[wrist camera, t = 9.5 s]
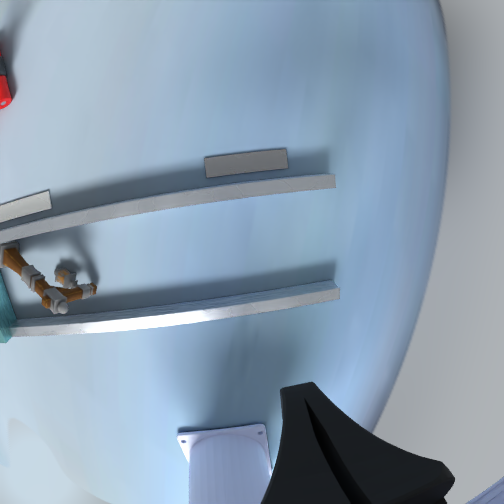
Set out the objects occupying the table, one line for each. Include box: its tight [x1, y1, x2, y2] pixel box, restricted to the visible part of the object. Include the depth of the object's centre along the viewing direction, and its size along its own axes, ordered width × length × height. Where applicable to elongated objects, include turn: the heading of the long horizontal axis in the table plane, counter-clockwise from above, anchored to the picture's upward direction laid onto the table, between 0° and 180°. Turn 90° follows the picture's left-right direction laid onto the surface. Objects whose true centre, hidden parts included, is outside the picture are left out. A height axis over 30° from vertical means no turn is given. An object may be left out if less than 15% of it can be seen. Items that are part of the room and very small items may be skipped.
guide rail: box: [0, 149, 340, 343], centre depth 18 cm, size 10×26×2 cm, turn 96°
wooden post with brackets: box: [0, 241, 97, 314], centre depth 17 cm, size 2×8×4 cm, turn 69°
